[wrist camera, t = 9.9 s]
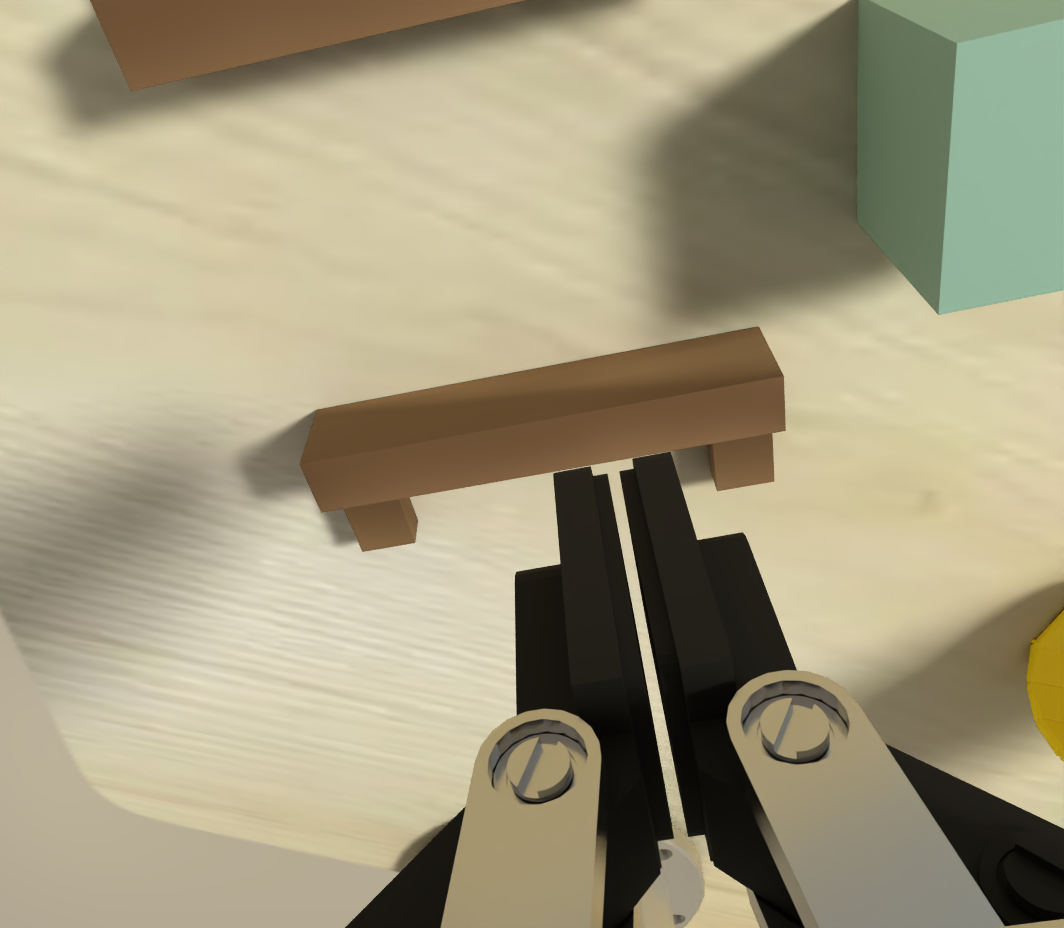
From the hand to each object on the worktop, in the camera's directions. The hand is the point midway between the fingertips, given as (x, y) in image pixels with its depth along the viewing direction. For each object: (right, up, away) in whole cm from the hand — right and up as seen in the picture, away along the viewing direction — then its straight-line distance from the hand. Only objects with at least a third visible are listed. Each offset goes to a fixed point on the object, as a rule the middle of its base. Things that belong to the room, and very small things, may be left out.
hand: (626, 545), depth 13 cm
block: (+8, +10, +7) cm, 14 cm away
